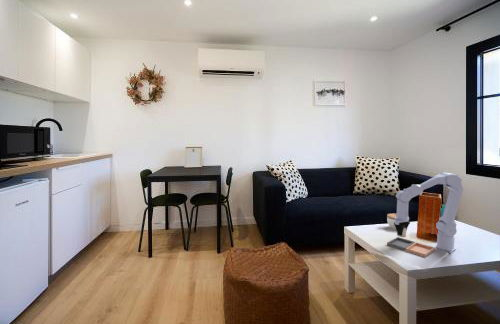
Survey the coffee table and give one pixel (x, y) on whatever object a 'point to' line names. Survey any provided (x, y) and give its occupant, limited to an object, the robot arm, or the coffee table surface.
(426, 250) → the tray
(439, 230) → the robot arm
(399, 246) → the tray
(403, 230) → the beige rounded cylinder
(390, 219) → the lidded bowl
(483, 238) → the coffee table surface
